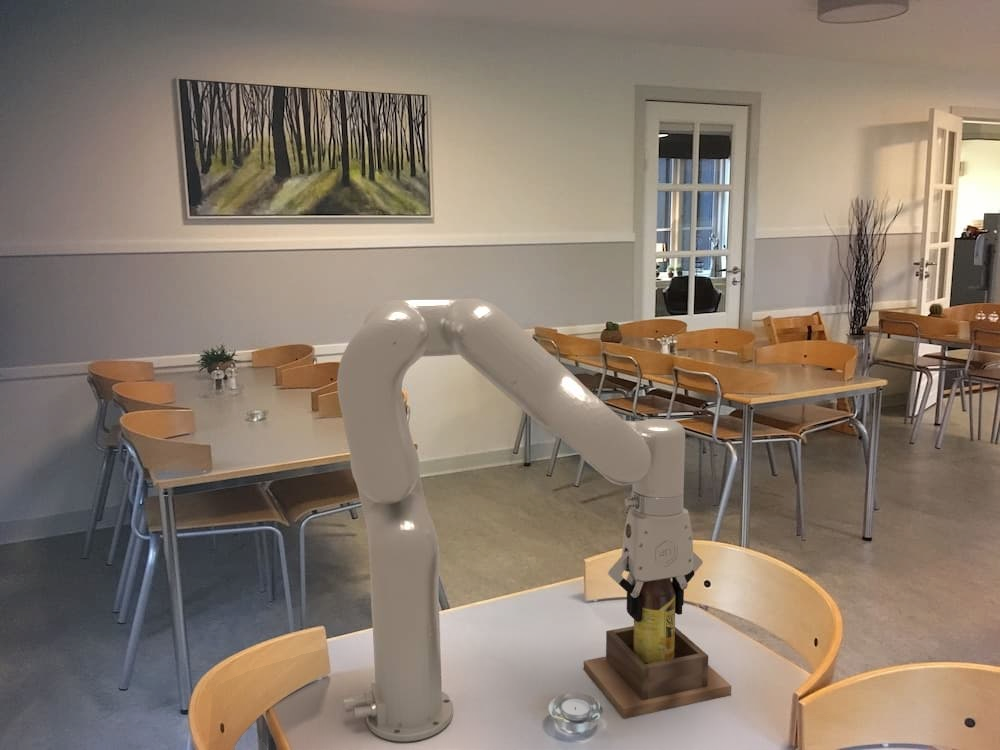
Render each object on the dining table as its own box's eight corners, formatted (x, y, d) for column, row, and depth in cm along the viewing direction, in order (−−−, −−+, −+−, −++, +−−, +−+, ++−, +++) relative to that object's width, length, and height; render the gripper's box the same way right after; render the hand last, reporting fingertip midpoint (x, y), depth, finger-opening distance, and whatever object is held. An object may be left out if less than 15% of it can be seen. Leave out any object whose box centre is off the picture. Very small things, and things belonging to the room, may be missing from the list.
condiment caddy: (623, 718, 112) (624, 677, 111) (583, 669, 125) (583, 631, 124) (730, 694, 117) (732, 654, 116) (681, 649, 131) (682, 613, 129)
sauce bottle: (674, 678, 117) (677, 553, 114) (632, 674, 118) (634, 550, 115) (673, 656, 123) (676, 537, 120) (633, 652, 125) (635, 534, 121)
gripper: (616, 517, 110) (615, 635, 113) (721, 503, 115) (717, 616, 118) (594, 500, 117) (593, 612, 120) (694, 488, 123) (691, 595, 125)
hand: (655, 613), depth 119 cm, fingers closed on sauce bottle, 6 cm apart
